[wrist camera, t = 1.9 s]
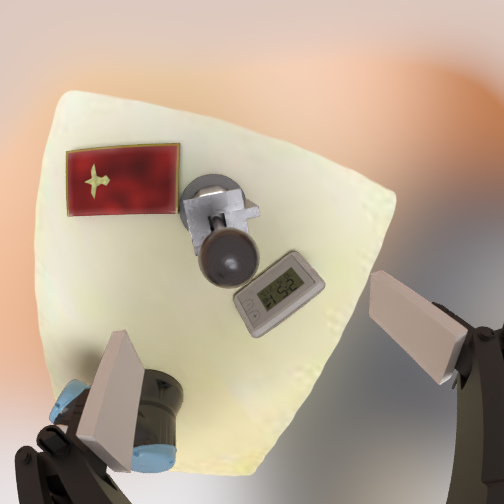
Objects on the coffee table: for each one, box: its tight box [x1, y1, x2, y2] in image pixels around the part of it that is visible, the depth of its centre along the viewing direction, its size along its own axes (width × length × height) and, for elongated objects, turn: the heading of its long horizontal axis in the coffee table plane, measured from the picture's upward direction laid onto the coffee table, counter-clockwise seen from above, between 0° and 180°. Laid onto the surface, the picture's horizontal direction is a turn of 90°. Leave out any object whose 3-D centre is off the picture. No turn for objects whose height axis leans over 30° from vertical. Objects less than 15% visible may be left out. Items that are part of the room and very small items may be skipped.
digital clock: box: [234, 252, 325, 338], centre depth 50 cm, size 16×9×11 cm, turn 115°
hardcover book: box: [66, 143, 180, 217], centre depth 42 cm, size 12×21×4 cm, turn 86°
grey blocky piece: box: [183, 185, 260, 256], centre depth 42 cm, size 10×8×13 cm
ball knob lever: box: [198, 213, 259, 289], centre depth 29 cm, size 5×5×19 cm
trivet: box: [179, 174, 246, 232], centre depth 48 cm, size 12×12×1 cm
